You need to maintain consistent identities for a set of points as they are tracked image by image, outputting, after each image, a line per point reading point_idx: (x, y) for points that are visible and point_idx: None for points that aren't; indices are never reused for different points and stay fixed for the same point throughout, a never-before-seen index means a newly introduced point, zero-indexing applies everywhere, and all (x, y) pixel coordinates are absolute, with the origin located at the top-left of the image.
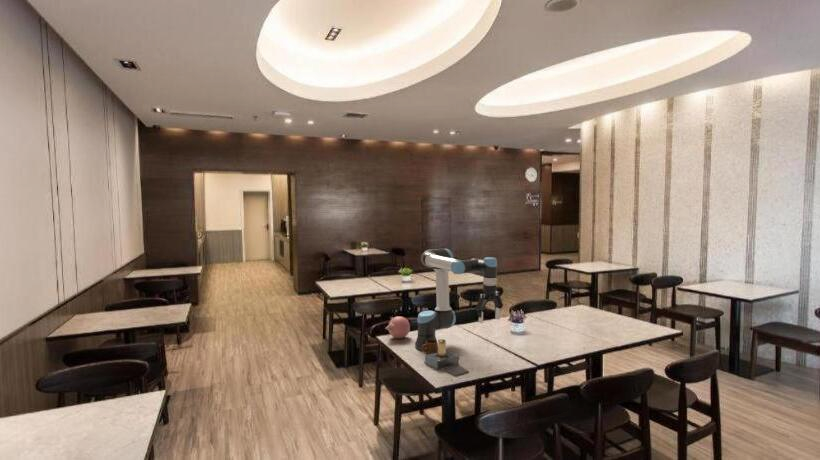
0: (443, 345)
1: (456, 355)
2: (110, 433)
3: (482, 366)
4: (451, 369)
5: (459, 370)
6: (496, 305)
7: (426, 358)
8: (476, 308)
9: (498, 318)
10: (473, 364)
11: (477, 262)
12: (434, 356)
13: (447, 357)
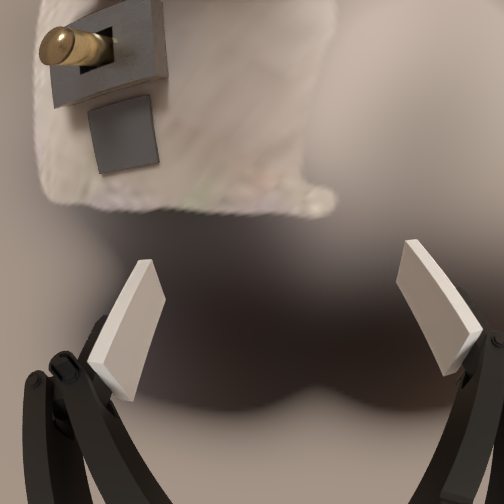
0: (62, 64)
1: (149, 66)
2: None
3: (244, 138)
4: (108, 125)
5: (129, 145)
6: (471, 382)
7: None
8: (34, 401)
9: (400, 286)
10: (224, 103)
11: None
12: None
13: (103, 76)
